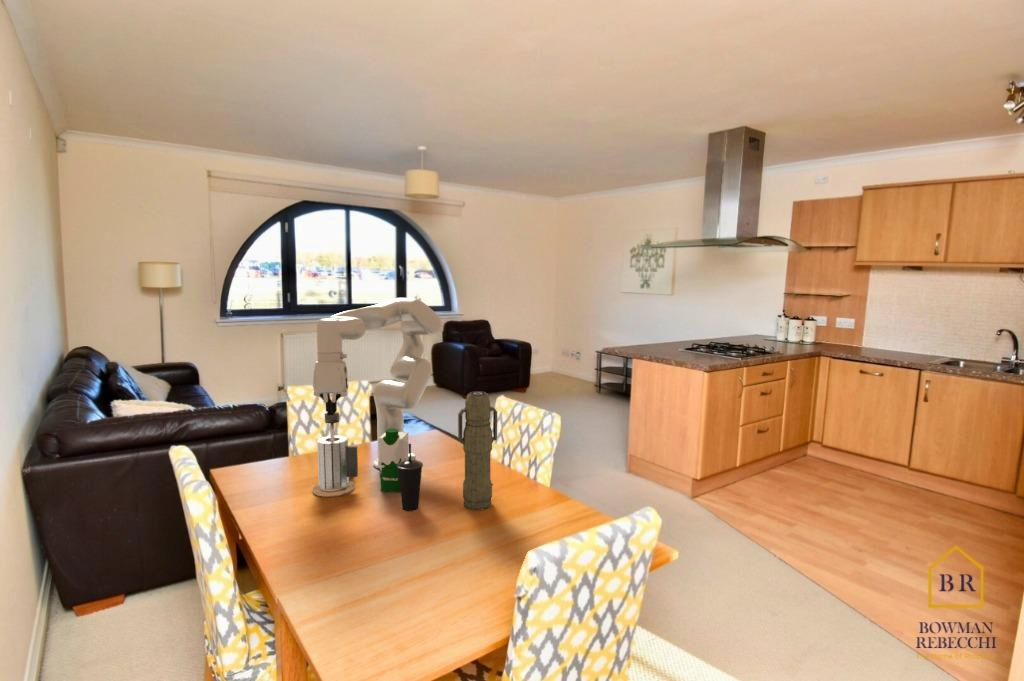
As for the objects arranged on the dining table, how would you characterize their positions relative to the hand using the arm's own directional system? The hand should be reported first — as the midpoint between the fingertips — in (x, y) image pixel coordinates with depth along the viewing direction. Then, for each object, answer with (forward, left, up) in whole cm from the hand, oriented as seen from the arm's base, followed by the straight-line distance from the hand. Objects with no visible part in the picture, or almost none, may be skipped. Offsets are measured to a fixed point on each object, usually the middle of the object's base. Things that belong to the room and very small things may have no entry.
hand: (331, 413), depth 171 cm
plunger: (0, 0, -19) cm, 19 cm away
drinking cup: (-28, +14, -26) cm, 40 cm away
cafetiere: (0, 0, -25) cm, 25 cm away
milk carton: (-20, -2, -26) cm, 32 cm away
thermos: (-48, +11, -26) cm, 55 cm away
